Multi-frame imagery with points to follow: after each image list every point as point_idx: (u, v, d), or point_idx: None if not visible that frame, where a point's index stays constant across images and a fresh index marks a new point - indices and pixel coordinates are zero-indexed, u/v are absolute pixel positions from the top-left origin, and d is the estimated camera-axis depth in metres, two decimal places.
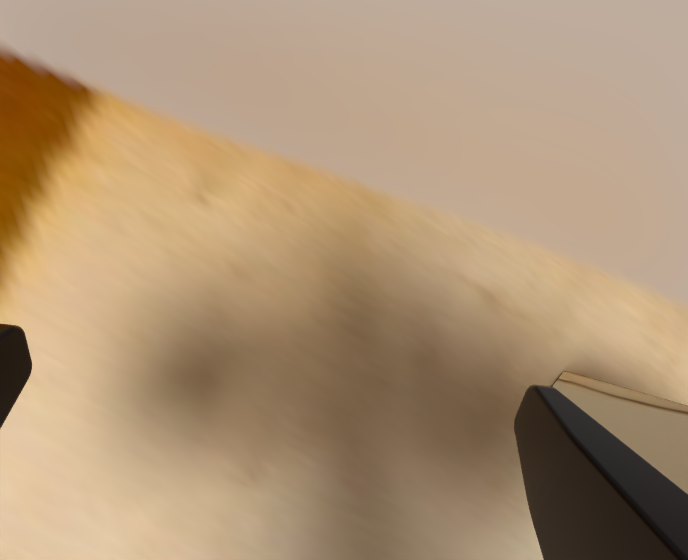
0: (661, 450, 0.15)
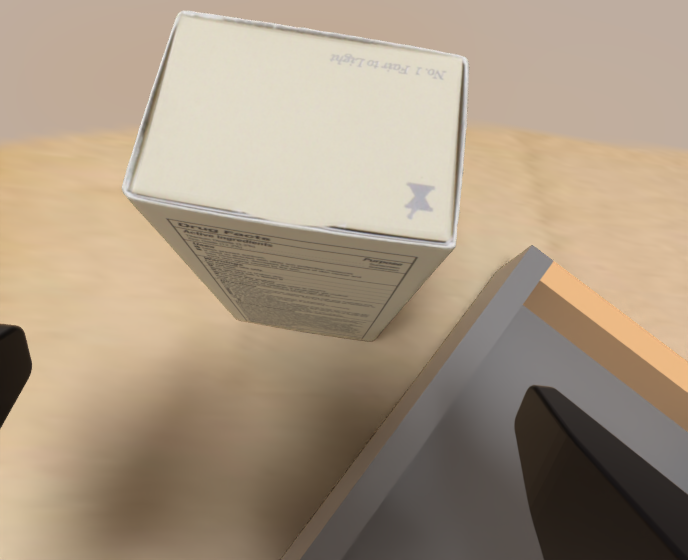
0: None
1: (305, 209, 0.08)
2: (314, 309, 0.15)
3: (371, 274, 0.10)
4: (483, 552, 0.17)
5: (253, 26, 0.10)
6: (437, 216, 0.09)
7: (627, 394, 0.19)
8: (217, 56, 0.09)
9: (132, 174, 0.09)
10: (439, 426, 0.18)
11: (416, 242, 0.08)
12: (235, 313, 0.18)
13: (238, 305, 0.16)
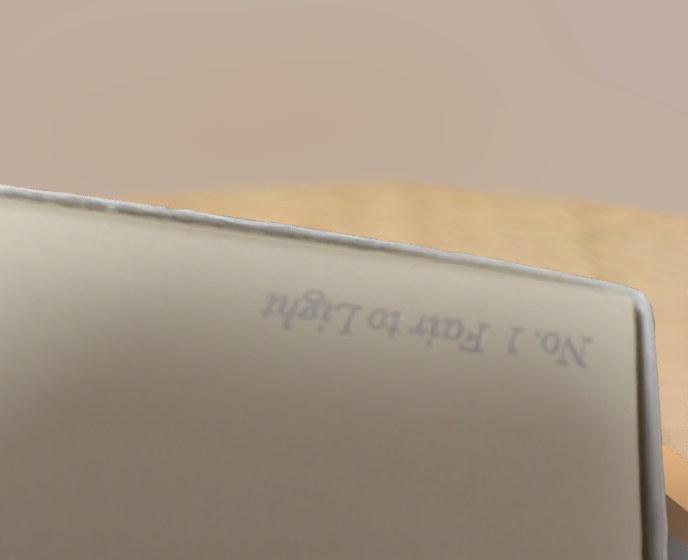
0: None
1: None
2: None
3: None
4: None
5: (53, 204, 0.03)
6: None
7: None
8: None
9: None
10: None
11: None
12: None
13: None
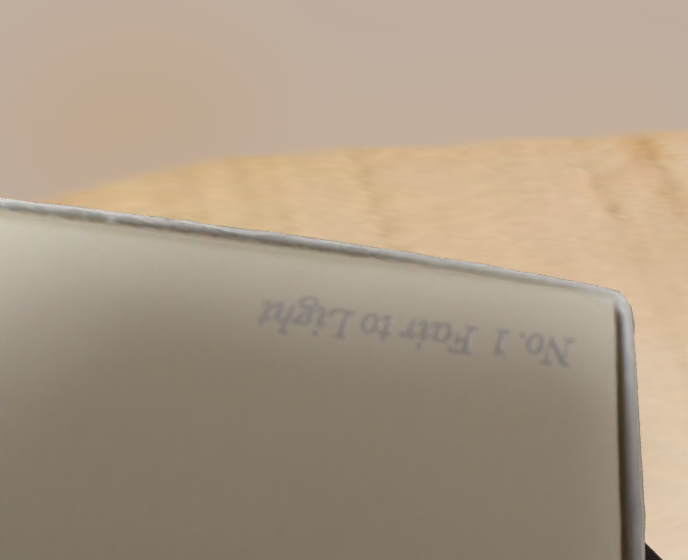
0: None
1: None
2: None
3: None
4: None
5: (55, 216, 0.04)
6: None
7: None
8: None
9: None
10: None
11: None
12: None
13: None
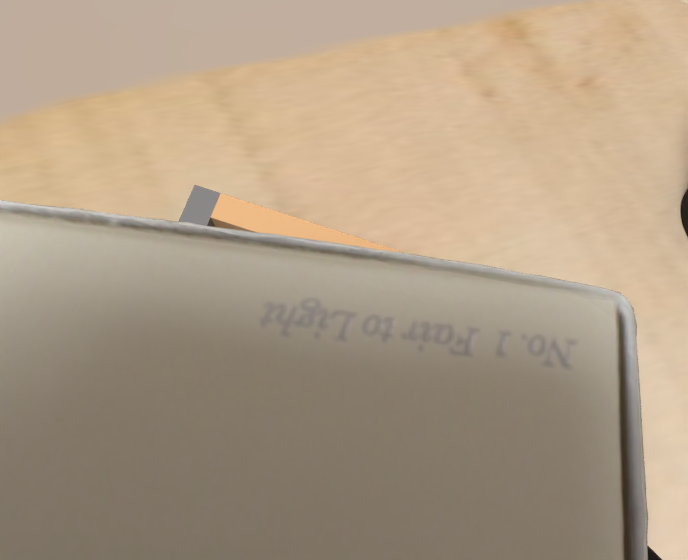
0: None
1: None
2: None
3: None
4: None
5: (58, 219, 0.04)
6: None
7: None
8: None
9: None
10: None
11: None
12: None
13: None
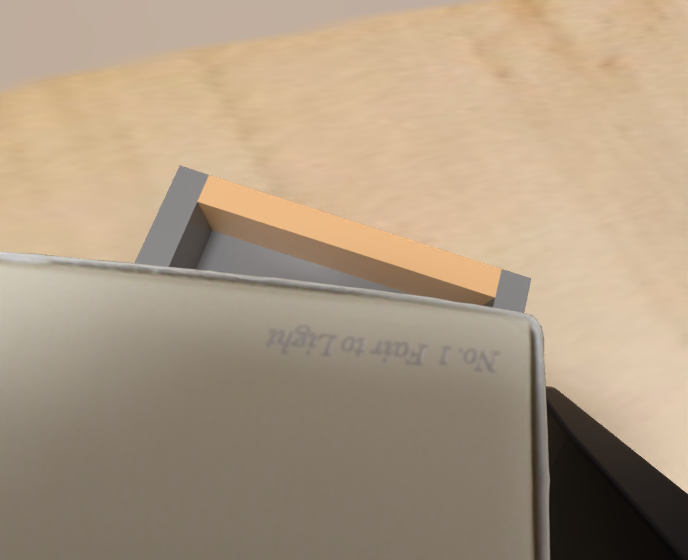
0: None
1: None
2: None
3: None
4: None
5: (113, 270, 0.05)
6: None
7: (363, 287, 0.17)
8: (30, 355, 0.04)
9: None
10: None
11: None
12: None
13: None
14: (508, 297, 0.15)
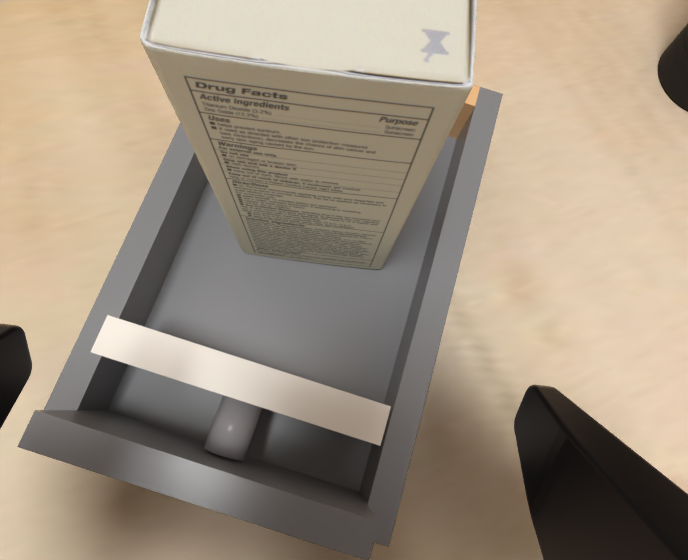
0: None
1: (323, 54, 0.09)
2: (325, 219, 0.15)
3: (386, 145, 0.11)
4: (284, 272, 0.20)
5: None
6: (453, 58, 0.09)
7: None
8: None
9: (148, 25, 0.09)
10: None
11: (434, 83, 0.09)
12: (244, 241, 0.18)
13: (248, 225, 0.16)
14: (485, 106, 0.20)
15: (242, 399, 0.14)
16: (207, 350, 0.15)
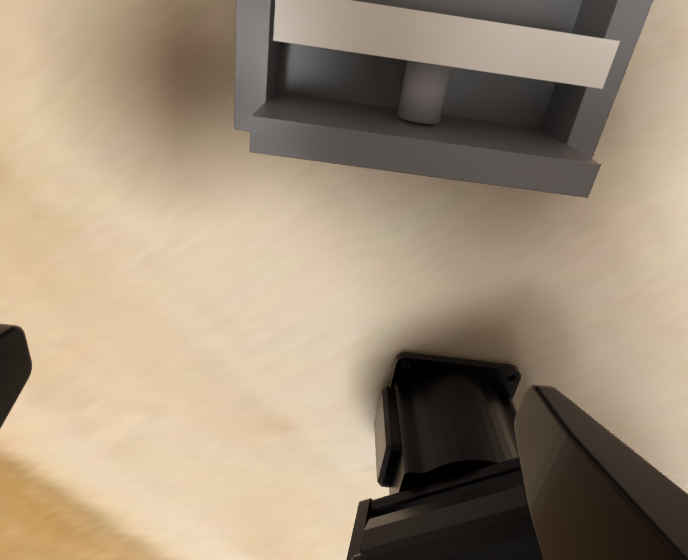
0: None
1: None
2: None
3: None
4: None
5: None
6: None
7: None
8: None
9: None
10: None
11: None
12: None
13: None
14: None
15: (448, 64, 0.13)
16: (400, 11, 0.12)
